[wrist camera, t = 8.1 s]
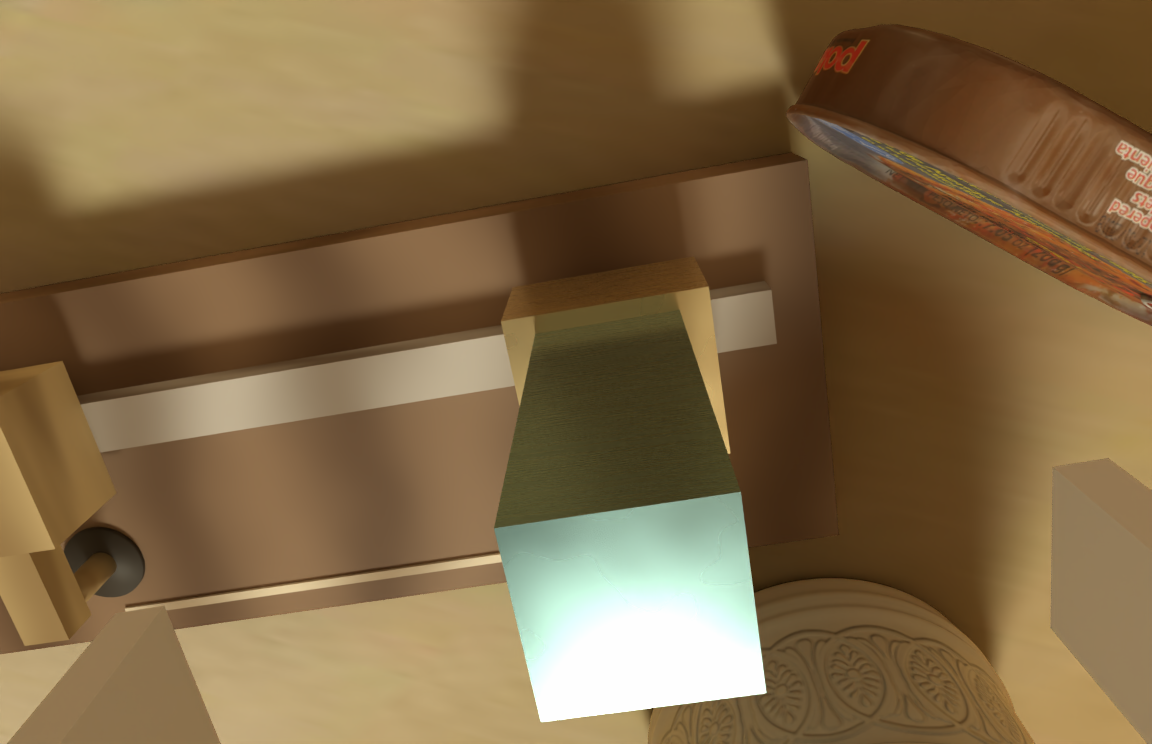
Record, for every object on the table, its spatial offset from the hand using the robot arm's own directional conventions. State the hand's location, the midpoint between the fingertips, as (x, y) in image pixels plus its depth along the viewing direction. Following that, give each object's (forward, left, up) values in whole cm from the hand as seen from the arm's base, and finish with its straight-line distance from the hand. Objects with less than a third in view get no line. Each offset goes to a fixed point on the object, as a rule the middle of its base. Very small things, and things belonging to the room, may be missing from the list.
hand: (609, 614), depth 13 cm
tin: (+12, +2, -16) cm, 20 cm away
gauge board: (-9, -2, -16) cm, 18 cm away
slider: (0, -2, -13) cm, 13 cm away
